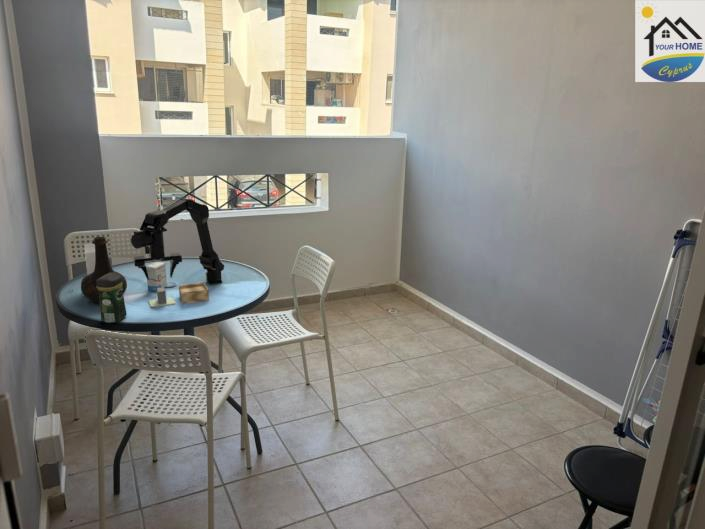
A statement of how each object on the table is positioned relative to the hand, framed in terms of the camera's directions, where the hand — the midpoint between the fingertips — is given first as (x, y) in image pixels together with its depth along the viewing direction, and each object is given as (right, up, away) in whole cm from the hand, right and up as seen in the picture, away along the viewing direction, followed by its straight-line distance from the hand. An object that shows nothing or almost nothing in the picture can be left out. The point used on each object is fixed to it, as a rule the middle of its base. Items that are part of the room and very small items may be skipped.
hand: (159, 278), depth 219 cm
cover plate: (0, -11, +4) cm, 11 cm away
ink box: (-8, -5, +20) cm, 22 cm away
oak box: (+12, -9, +9) cm, 18 cm away
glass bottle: (-25, -9, +5) cm, 27 cm away
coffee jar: (-13, -16, -14) cm, 25 cm away
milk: (-34, -6, +16) cm, 38 cm away
